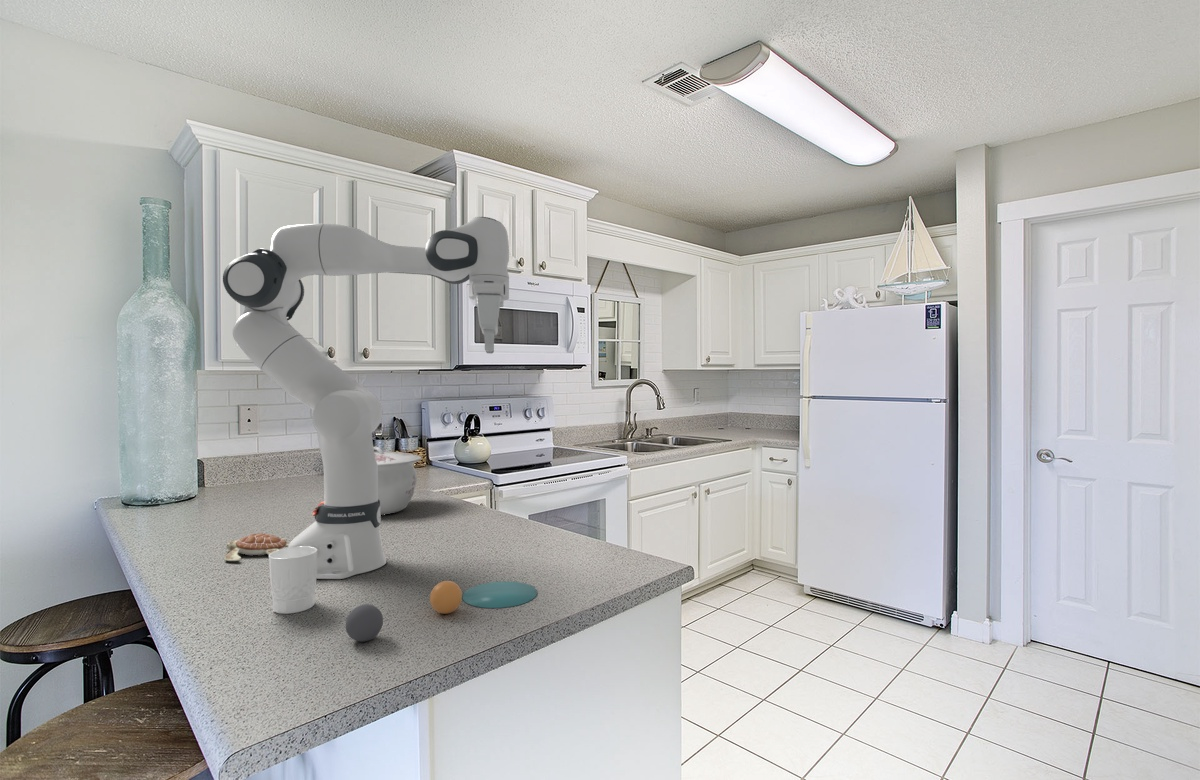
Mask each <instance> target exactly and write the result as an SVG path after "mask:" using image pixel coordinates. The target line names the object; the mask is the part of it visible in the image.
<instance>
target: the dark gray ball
mask: <svg viewBox="0 0 1200 780" xmlns="http://www.w3.org/2000/svg"><path fill="white" fill-rule="evenodd" d="M383 625H384V616H383V613H382V612H381V610H380V609H379V608H378V607H377V606H375V605H373V604H371V603H368V604H367V603H365V604H360V605H358V606H356V607H354V608H353V609H352V610H351V611H350V612H349V614H348V615H347V617H346V621H345V630H346V633H347V635H348V636H349V637H350V639H352V640H353V641H356V642H367V641H370V640H372V639H374V638H375V637H377V636H378V634H379V633H380V632H381V630H382V628H383Z"/></svg>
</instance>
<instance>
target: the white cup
mask: <svg viewBox="0 0 1200 780" xmlns="http://www.w3.org/2000/svg"><path fill="white" fill-rule="evenodd" d="M317 553H318V549H317V548H315V547H308V546H300V547H290V548H288V547H284V548H283V549H280V550H277V551H274V552H272V553H270V554H269V555H268V564H269V566H268V567H269V581H270V590H271V591H270V592H271V593H270V594H271V597H272V610H273V612H274V613H277V614H285V615H288V614H296V613H300V612H304V611H307V610H309V609H311V608H312V607H313V606H315V605H316V604H315V603H316V588H317V579H316V576H317Z"/></svg>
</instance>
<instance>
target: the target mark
mask: <svg viewBox="0 0 1200 780" xmlns="http://www.w3.org/2000/svg"><path fill="white" fill-rule="evenodd" d="M537 595H538V591H537V589H536V587H534V586H533V585H531V584H527V583H525V582H520V581H519V582H518V581H505V580H504V581H493V582H492V581H491V582H486V583H481V584H478V585H477V584H476V585H475V586H472V587H470V588H468V589H467V590H466V591H464V592H463V593H462V601H463V602H464V603H465V604H467V605H470V606H472V607H477V608H483V609H504V608H511V607H516V606H521V605H523V604H527V603H528V602H530V601H533V600H534V599H535V598H536V597H537Z"/></svg>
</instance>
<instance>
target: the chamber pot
mask: <svg viewBox="0 0 1200 780" xmlns="http://www.w3.org/2000/svg"><path fill="white" fill-rule="evenodd" d="M373 447H374V453H375V458H376V462H377V465H378V499H379V500H380V506H381V515H384V514H390V513H394V514H396V513H397V512H400V511H402V510H404V509H406V508H407V506H408V505H409V503H410V502H411V500H412V497H413V496H414V495H415V492H416V488H417V484H418V471H417V470H416V468H415V466H414V465H415V463H417V462H420V461H421V460H423V459H422V458H423V457H422V456H420V455H417V454H414V453H408V452H399V451H397V452H395V451H383V450H382V448H380V447H378V446H376V445H374V446H373ZM395 512H396V513H395ZM390 515H391V514H390ZM384 516H385V515H384Z"/></svg>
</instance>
